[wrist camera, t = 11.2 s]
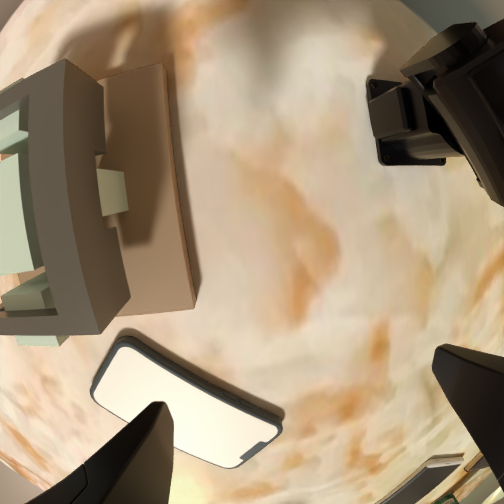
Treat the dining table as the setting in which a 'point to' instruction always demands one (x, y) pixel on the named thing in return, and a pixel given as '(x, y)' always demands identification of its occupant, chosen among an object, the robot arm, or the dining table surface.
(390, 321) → the dining table surface
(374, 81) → the robot arm
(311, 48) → the dining table surface
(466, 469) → the hardcover book
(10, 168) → the green blocks on base
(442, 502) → the canned tomato
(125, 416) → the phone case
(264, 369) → the dining table surface
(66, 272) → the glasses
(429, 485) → the smartphone
